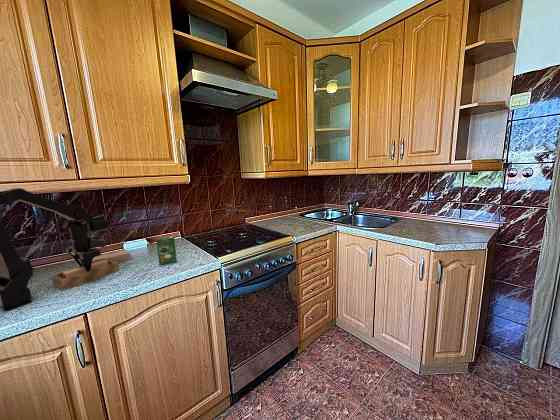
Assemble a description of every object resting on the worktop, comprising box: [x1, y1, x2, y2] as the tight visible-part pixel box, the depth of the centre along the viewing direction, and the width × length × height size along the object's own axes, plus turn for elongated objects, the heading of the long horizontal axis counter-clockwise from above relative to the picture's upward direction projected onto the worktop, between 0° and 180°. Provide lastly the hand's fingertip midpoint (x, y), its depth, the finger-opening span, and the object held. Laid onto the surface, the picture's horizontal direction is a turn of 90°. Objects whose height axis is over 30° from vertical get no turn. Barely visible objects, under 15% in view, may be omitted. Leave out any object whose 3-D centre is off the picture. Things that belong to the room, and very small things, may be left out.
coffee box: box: [155, 235, 178, 266], centre depth 113 cm, size 8×3×13 cm, turn 108°
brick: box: [92, 249, 132, 264], centre depth 119 cm, size 17×8×5 cm, turn 132°
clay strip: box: [62, 260, 108, 279], centre depth 102 cm, size 15×4×4 cm, turn 149°
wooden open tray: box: [50, 259, 120, 291], centre depth 102 cm, size 20×11×4 cm, turn 149°
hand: (86, 270), depth 101 cm, fingers open, 4 cm apart
